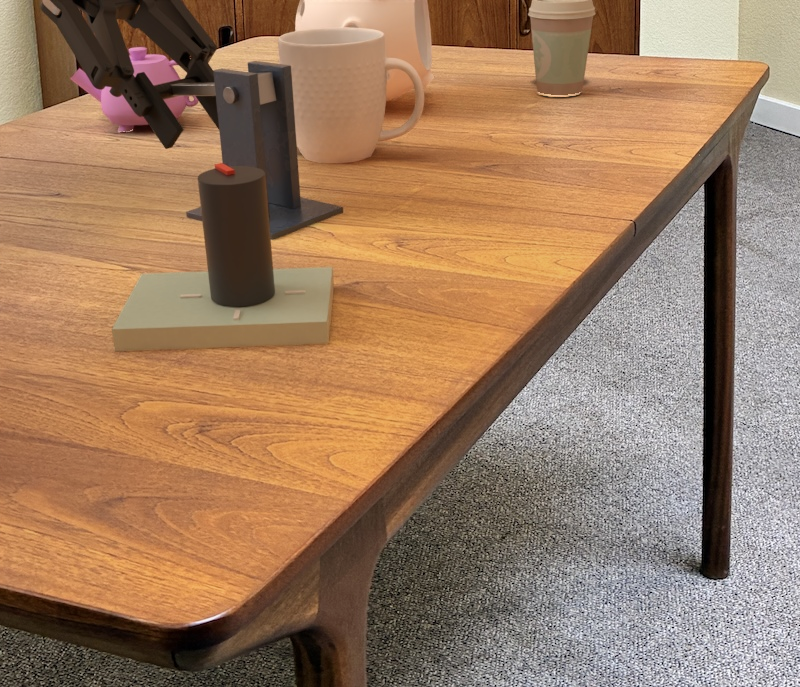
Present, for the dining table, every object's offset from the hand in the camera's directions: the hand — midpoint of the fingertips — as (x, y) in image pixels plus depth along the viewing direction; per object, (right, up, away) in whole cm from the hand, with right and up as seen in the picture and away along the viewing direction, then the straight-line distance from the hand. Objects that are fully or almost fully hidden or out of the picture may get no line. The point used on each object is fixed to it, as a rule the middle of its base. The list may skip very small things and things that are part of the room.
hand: (202, 131), depth 101 cm
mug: (+12, 0, +17) cm, 21 cm away
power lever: (+2, +2, -2) cm, 4 cm away
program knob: (+7, -16, -25) cm, 31 cm away
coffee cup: (+39, +13, +44) cm, 60 cm away
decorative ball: (+14, +11, +40) cm, 44 cm away
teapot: (-14, +7, +34) cm, 38 cm away
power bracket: (+6, -8, -1) cm, 10 cm away
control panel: (+6, -19, -24) cm, 31 cm away
